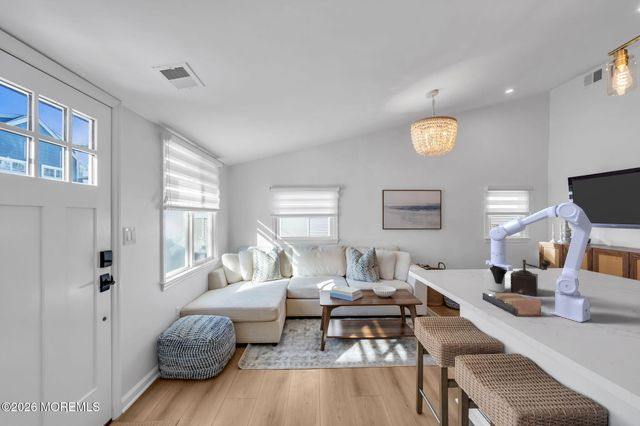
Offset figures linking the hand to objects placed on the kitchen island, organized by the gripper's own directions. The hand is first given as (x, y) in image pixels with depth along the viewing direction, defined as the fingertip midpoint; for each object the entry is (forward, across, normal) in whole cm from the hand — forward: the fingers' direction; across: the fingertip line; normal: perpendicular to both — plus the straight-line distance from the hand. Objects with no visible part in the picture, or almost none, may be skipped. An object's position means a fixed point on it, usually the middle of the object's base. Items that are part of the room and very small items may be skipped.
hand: (498, 283), depth 119 cm
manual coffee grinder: (+8, -11, +24) cm, 28 cm away
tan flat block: (+5, +9, 0) cm, 10 cm away
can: (+8, -16, +10) cm, 20 cm away
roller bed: (+8, +6, 0) cm, 10 cm away
